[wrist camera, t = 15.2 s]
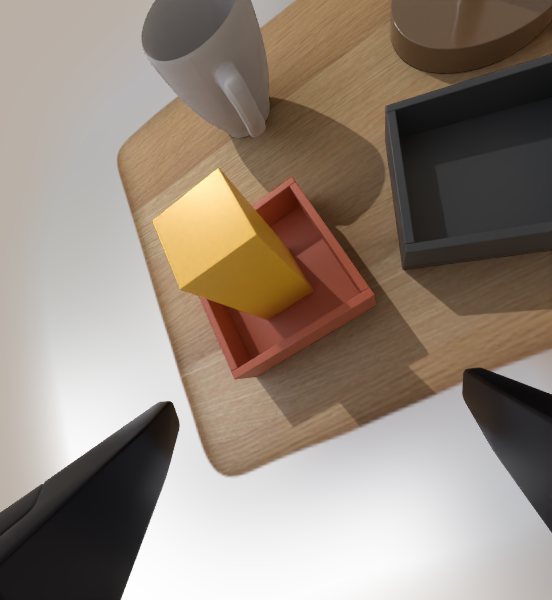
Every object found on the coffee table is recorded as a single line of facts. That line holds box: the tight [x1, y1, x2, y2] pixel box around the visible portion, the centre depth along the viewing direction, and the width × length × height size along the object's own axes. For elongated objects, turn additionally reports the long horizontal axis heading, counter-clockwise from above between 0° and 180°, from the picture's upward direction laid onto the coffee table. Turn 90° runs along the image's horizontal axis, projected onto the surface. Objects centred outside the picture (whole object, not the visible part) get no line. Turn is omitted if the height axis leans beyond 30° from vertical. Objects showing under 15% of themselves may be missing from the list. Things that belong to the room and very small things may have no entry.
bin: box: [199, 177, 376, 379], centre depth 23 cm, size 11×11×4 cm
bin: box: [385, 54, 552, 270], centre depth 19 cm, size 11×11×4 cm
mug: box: [142, 0, 270, 138], centre depth 25 cm, size 12×9×10 cm
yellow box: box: [152, 168, 314, 320], centre depth 19 cm, size 4×4×11 cm
